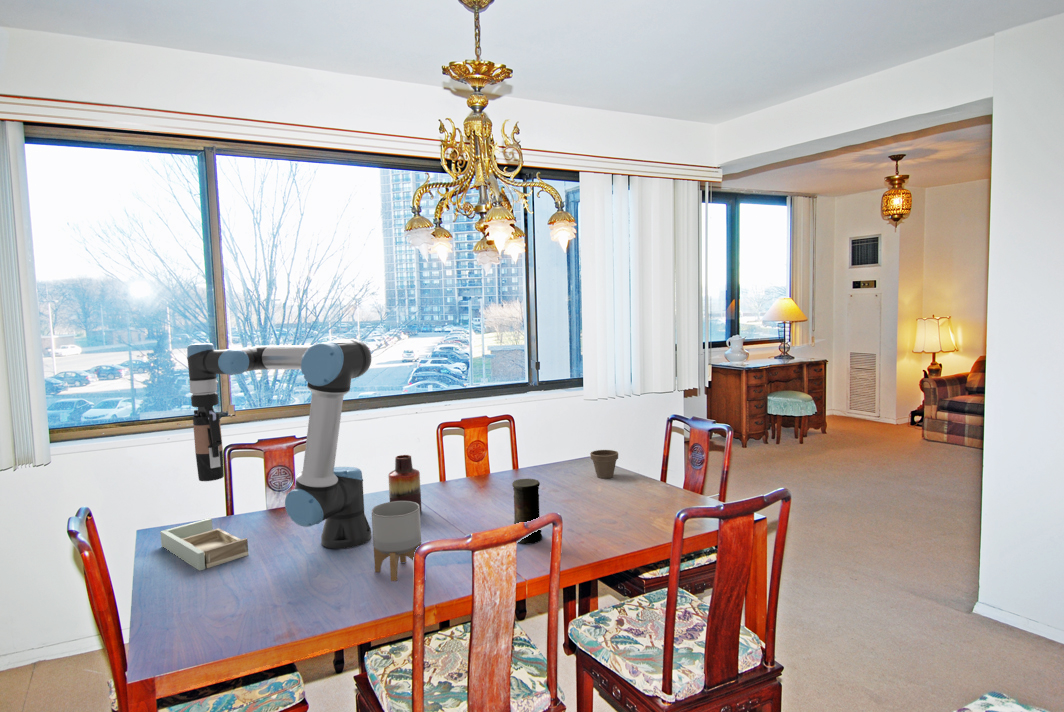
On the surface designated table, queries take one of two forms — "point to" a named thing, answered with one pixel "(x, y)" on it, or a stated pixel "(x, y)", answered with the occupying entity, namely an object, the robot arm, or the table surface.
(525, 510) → the container
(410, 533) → the planter
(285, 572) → the table surface
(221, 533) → the tray
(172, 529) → the bay
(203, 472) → the travel mug
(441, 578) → the table surface
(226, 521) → the table surface
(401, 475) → the vase
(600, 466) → the flower pot
